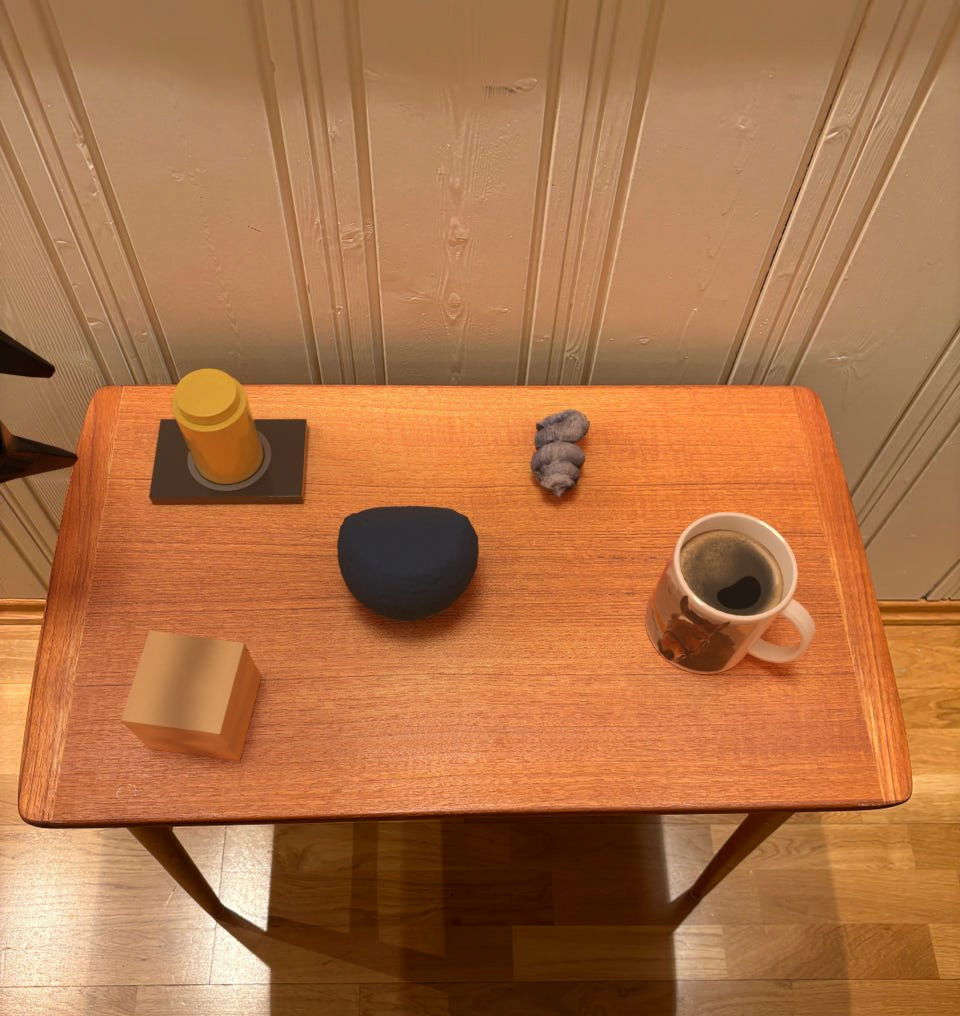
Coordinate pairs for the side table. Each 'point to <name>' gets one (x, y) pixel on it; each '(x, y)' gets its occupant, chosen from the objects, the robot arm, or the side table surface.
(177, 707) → the cube
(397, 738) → the side table surface
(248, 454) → the jar
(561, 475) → the seashell
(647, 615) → the mug
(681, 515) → the side table surface
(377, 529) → the decorative stone
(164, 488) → the hob
